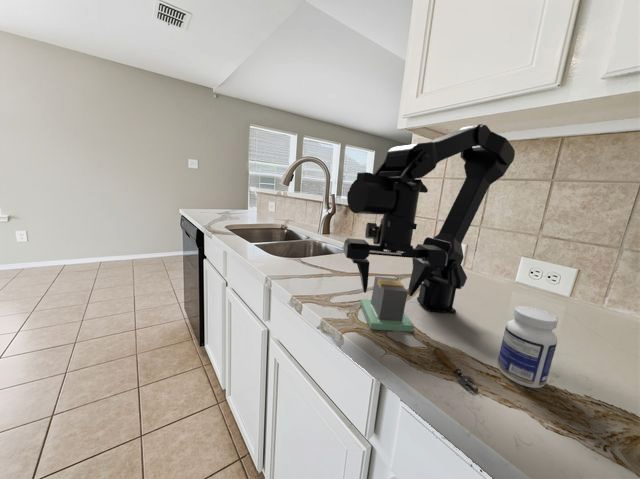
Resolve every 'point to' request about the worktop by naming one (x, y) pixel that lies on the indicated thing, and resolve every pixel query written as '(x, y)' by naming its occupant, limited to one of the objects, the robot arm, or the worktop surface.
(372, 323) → the board
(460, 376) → the can opener
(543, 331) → the pill bottle
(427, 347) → the worktop surface
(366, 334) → the worktop surface
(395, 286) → the block
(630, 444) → the worktop surface
